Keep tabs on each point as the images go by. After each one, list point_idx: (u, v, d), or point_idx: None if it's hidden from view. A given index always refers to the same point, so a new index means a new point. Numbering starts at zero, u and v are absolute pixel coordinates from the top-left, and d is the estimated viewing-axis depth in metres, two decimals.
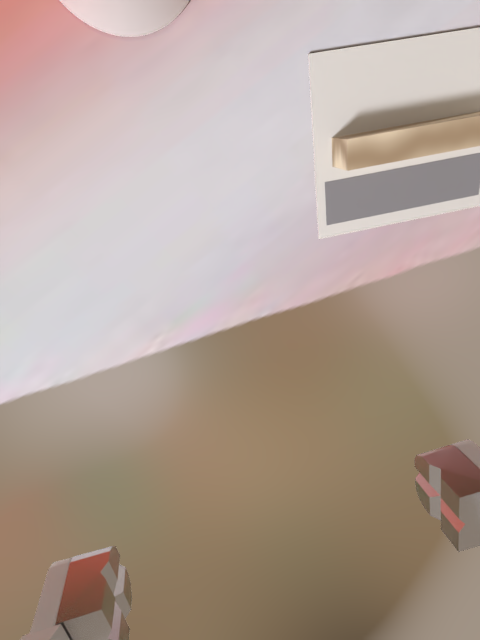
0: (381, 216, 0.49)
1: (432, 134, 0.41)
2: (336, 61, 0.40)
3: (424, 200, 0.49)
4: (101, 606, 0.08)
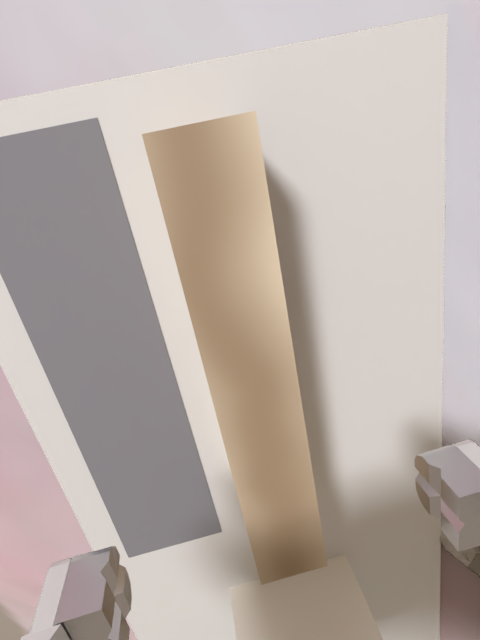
0: (23, 340, 0.16)
1: (275, 412, 0.14)
2: (420, 109, 0.15)
3: (93, 445, 0.18)
4: (101, 606, 0.08)
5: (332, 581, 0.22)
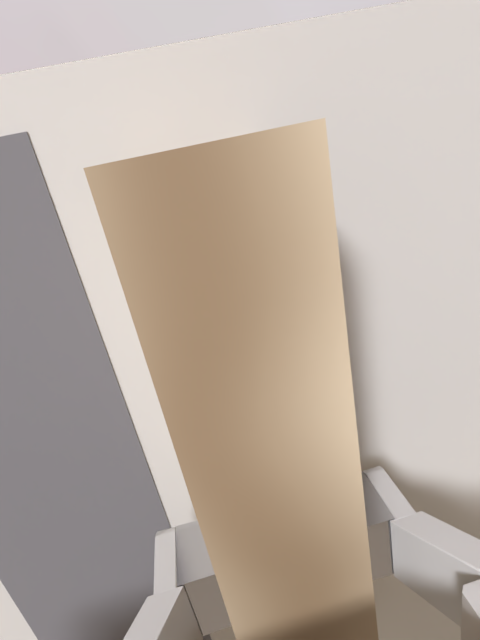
0: None
1: (332, 616, 0.08)
2: None
3: (44, 609, 0.12)
4: None
5: None
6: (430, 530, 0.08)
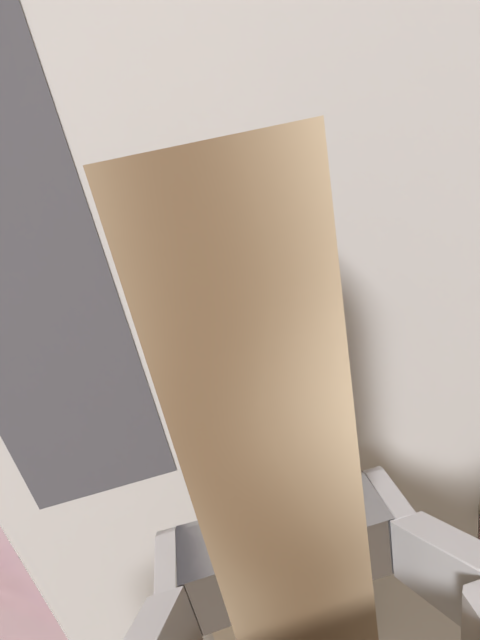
0: None
1: (331, 615, 0.08)
2: None
3: None
4: None
5: None
6: (430, 530, 0.08)
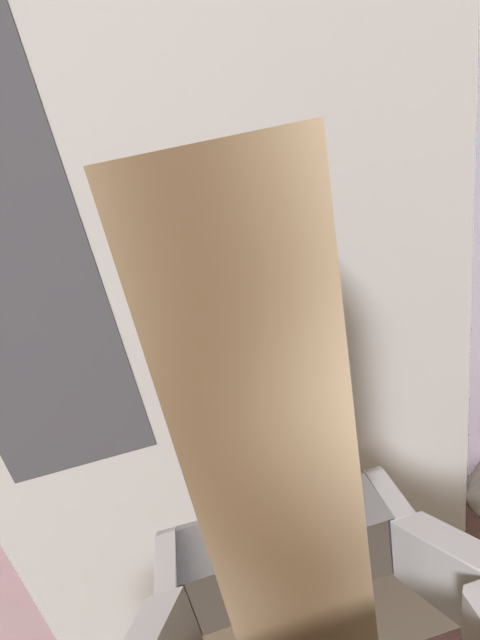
0: None
1: (331, 615, 0.08)
2: None
3: None
4: None
5: None
6: (430, 530, 0.08)
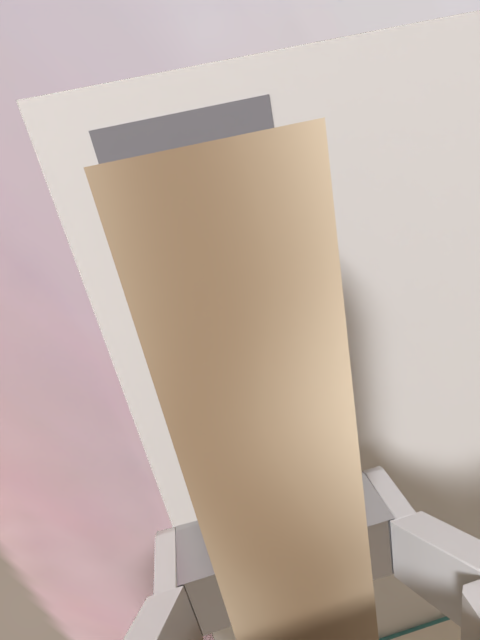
0: None
1: (331, 617, 0.08)
2: None
3: None
4: None
5: None
6: (430, 530, 0.08)
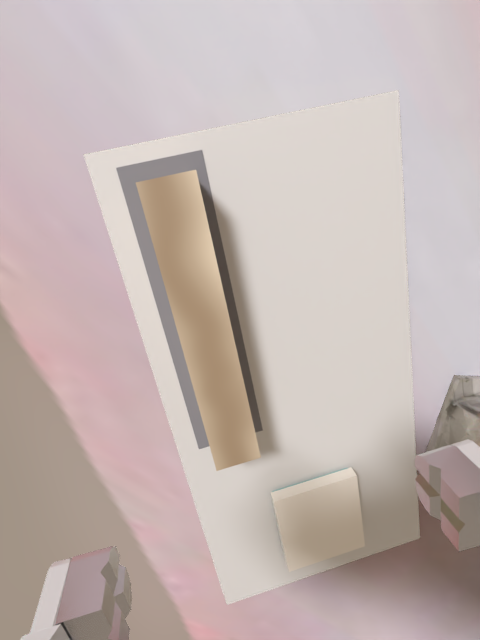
0: (146, 286, 0.25)
1: (218, 344, 0.23)
2: (386, 143, 0.25)
3: (182, 360, 0.27)
4: (101, 606, 0.08)
5: (343, 492, 0.32)
6: None
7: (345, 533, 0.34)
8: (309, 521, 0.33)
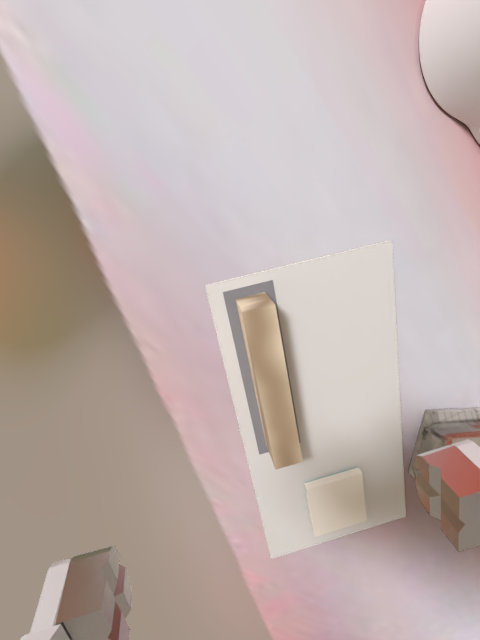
0: (234, 356, 0.41)
1: (281, 396, 0.39)
2: (384, 270, 0.40)
3: (253, 400, 0.43)
4: (101, 606, 0.08)
5: (353, 483, 0.48)
6: None
7: (353, 511, 0.50)
8: (329, 502, 0.49)
